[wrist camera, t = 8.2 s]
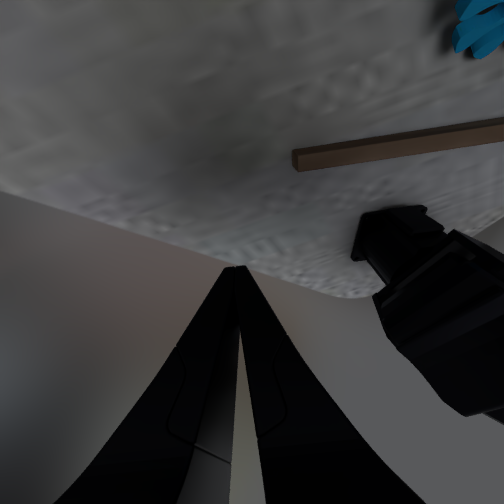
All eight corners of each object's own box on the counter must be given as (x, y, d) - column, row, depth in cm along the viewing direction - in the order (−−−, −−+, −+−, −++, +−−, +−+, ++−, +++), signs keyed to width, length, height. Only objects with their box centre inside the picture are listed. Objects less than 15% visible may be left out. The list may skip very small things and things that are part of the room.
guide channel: (549, 126, 16) (635, 135, 13) (292, 165, 17) (306, 184, 13) (863, -310, 7) (1433, -677, 4) (293, -190, 8) (337, -404, 5)
